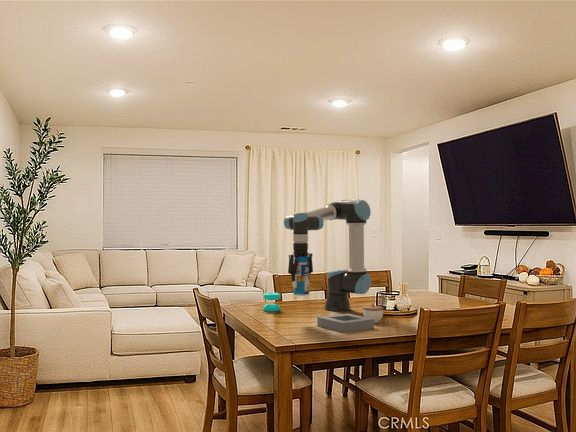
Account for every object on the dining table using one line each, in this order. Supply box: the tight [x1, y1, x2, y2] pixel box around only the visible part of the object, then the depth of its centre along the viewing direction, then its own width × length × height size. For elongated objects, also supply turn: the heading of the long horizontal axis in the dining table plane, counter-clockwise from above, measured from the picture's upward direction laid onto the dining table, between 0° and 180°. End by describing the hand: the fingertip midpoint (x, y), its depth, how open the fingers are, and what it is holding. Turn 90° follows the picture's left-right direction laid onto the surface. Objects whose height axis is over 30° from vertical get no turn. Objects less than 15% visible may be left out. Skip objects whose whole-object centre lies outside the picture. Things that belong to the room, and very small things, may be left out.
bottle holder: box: [316, 313, 375, 333], centre depth 302 cm, size 20×20×4 cm
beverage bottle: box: [292, 256, 310, 297], centre depth 312 cm, size 8×8×20 cm
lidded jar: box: [362, 303, 384, 324], centre depth 317 cm, size 11×11×9 cm
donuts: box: [262, 292, 281, 313], centre depth 351 cm, size 10×10×10 cm
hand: (300, 286), depth 312 cm, fingers closed on beverage bottle, 7 cm apart
